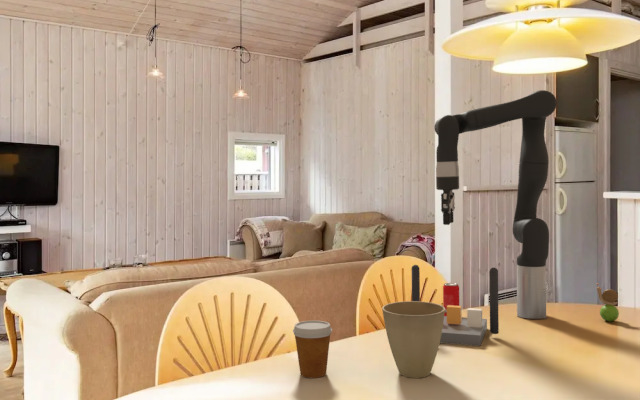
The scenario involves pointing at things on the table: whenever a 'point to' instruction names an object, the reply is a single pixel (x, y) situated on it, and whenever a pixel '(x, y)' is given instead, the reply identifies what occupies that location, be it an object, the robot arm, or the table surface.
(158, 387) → the table surface
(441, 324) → the plant pot
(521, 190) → the robot arm
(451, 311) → the block
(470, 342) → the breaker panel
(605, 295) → the snail figurine
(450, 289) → the beverage can
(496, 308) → the dark grey post
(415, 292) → the dark grey rod
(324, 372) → the disposable coffee cup
